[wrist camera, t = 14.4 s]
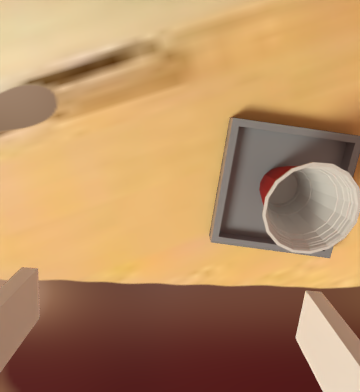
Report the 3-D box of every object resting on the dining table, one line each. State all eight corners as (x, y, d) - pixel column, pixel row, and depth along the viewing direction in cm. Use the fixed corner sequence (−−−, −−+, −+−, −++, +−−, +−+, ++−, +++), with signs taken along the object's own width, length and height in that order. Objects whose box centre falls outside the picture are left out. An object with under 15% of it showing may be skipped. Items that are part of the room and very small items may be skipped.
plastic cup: (244, 226, 46) (265, 261, 34) (239, 155, 43) (260, 168, 31) (316, 218, 45) (362, 252, 34) (315, 147, 43) (365, 156, 31)
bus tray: (229, 117, 43) (232, 117, 40) (352, 135, 43) (364, 136, 40) (209, 235, 47) (210, 242, 44) (321, 250, 47) (329, 258, 45)
